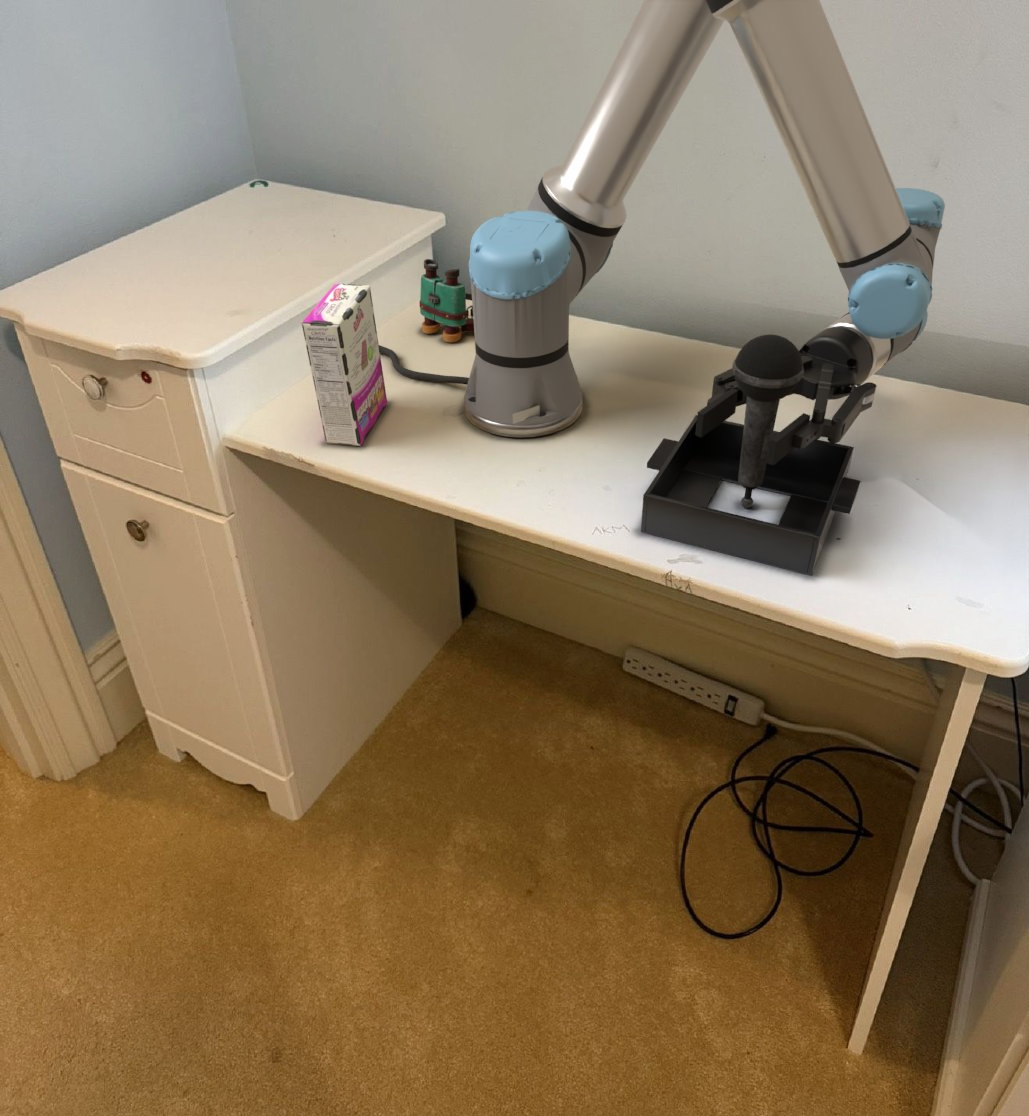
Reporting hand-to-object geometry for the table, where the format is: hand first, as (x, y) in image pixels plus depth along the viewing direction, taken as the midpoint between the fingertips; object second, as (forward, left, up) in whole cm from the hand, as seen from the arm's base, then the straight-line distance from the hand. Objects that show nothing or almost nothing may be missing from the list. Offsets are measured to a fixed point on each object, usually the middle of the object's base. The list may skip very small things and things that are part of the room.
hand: (734, 438), depth 91 cm
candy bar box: (-49, +3, -11) cm, 50 cm away
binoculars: (-51, +33, -11) cm, 61 cm away
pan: (+1, +5, -11) cm, 12 cm away
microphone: (+1, +5, -11) cm, 12 cm away
